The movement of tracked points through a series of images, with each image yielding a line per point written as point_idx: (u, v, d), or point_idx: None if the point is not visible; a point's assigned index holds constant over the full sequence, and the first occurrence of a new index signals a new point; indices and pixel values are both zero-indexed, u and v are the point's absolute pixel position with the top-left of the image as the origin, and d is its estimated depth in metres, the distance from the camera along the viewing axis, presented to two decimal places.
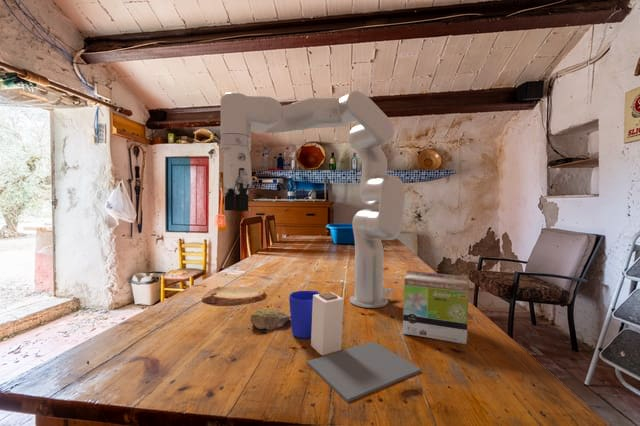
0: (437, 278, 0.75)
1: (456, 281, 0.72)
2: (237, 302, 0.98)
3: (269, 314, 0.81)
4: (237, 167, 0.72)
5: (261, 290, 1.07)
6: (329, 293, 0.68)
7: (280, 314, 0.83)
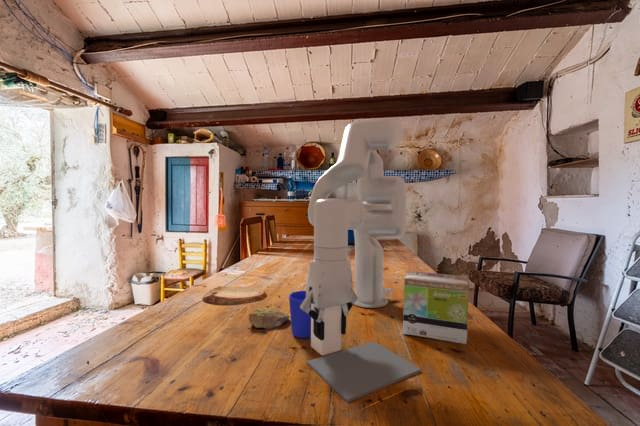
0: (437, 278, 0.75)
1: (455, 281, 0.72)
2: (237, 301, 0.99)
3: (267, 313, 0.82)
4: None
5: (261, 290, 1.08)
6: None
7: (278, 313, 0.83)
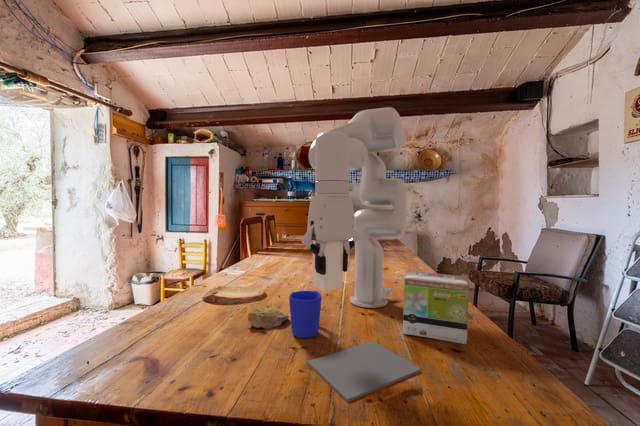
0: (437, 278, 0.75)
1: (456, 281, 0.72)
2: (237, 301, 0.99)
3: (267, 313, 0.82)
4: None
5: (261, 290, 1.08)
6: None
7: (278, 313, 0.83)
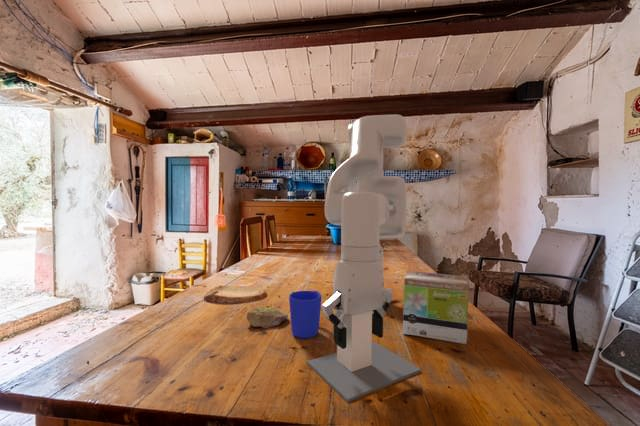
0: (437, 278, 0.75)
1: (455, 281, 0.72)
2: (237, 301, 1.00)
3: (266, 312, 0.82)
4: None
5: (262, 289, 1.08)
6: None
7: (277, 313, 0.83)
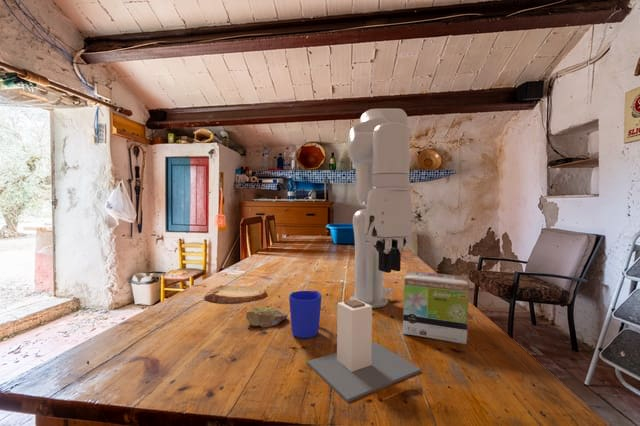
0: (437, 278, 0.75)
1: (455, 281, 0.72)
2: (237, 301, 1.00)
3: (265, 312, 0.83)
4: None
5: (262, 289, 1.08)
6: (355, 300, 0.62)
7: (276, 312, 0.84)
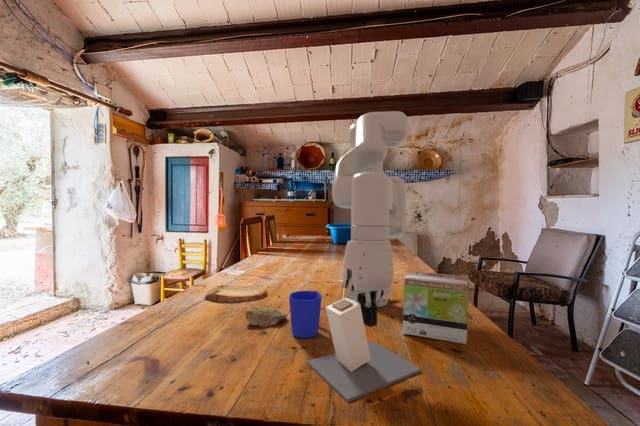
0: (437, 278, 0.75)
1: (455, 281, 0.72)
2: (237, 300, 1.00)
3: (264, 311, 0.83)
4: None
5: (262, 289, 1.09)
6: (343, 301, 0.60)
7: (276, 312, 0.84)
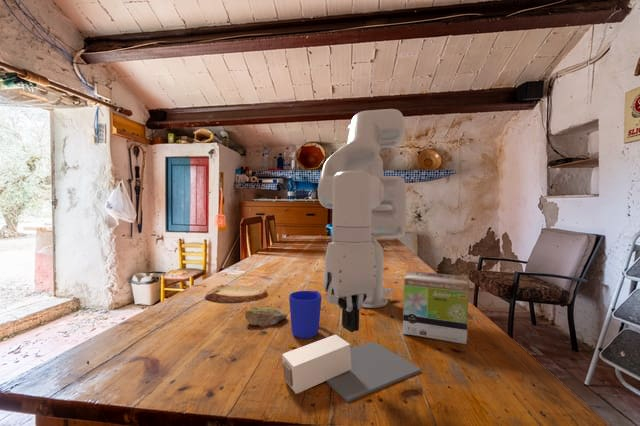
0: (437, 278, 0.75)
1: (455, 281, 0.72)
2: (237, 300, 1.01)
3: (264, 311, 0.83)
4: None
5: (262, 289, 1.09)
6: (284, 367, 0.54)
7: (275, 312, 0.84)
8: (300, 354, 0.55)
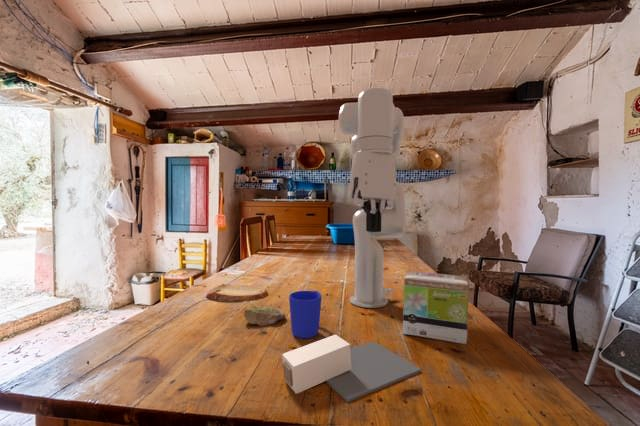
0: (437, 278, 0.75)
1: (455, 281, 0.72)
2: (237, 299, 1.01)
3: (263, 310, 0.84)
4: None
5: (263, 288, 1.09)
6: (284, 367, 0.54)
7: (274, 311, 0.85)
8: (300, 354, 0.55)
